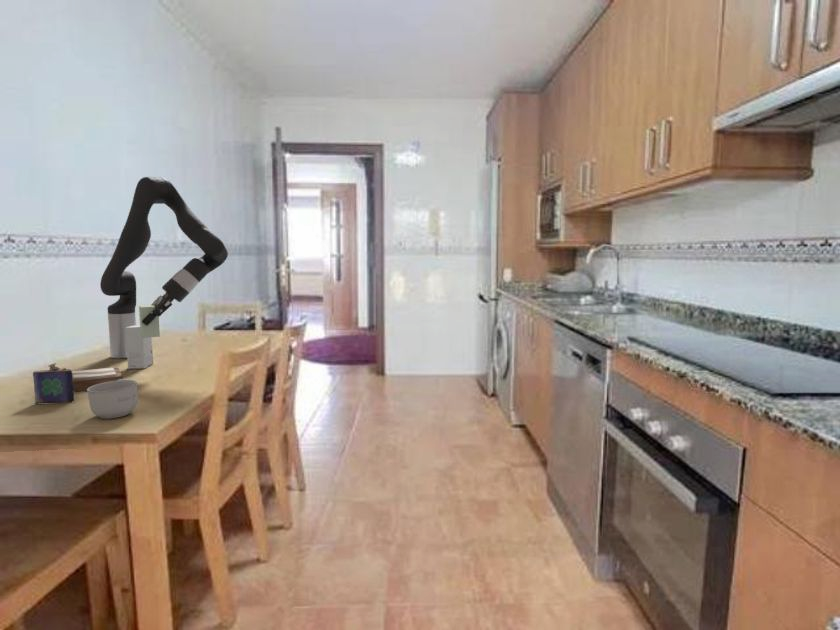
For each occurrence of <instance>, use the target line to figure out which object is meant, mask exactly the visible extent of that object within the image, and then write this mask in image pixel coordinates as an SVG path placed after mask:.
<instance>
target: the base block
mask: <svg viewBox="0 0 840 630" xmlns="http://www.w3.org/2000/svg"><path fill="white" fill-rule="evenodd" d="M71 371H72V370H71ZM119 379H124V377H123V374H122V373H121V371H120V369H119V367H113V366H111V367H102V368H94V369H93V368H91V369H84V370H73V371H72V381H73V391H75V392H81V391H82V390H83V391H87V389H88V388H89V387H91V386H93V385H96V384H100V383H103V382H109V381H116V380H119Z"/></svg>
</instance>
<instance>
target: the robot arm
mask: <svg viewBox="0 0 840 630" xmlns="http://www.w3.org/2000/svg"><path fill="white" fill-rule="evenodd" d="M156 204H159V205H162V204H164V205H165V206H167V207H169V209H170V210H172V212H173V213H174V214H175V219H176V222H177V225H178V228H180V230H181V231H182V233H183V234H185V235H186V237H187V238H188V239H189V240H190V241H191V242H192V243H194V244H195V245H197V246H198V247H199V248H200V249H201V251H202V252H203V253H204V254H203V255H202V256H200V257H199V258H196V257H193V258H192V259H190V260H189V261H187V263H186V264H185V265H184V266H183V267H182V268H181V269H179V270H178V271H177V272H176V273H174V275H173V276H172V277H170V279H169V280H167V281H166V283H164V284H163V285H162V287H161V288H162V290H163V291H164V292H165V293H164V294H163V295H161V294H160V295H158V297H157V298H156V299H155V300H154V301H153V302H152V303H151V304H150V305H154V309H153V310H152V311H151V312H150V313H151V314H150V313H149V314H148V315H147V316H146V317H145V318H144V319H143V320H142V323H144V324H145V325H149V324H150V323H151V322H152V321H153V320H154V319H155V317H156V318H157V317H159V318H160V317H161V316H162V314H164V313H165V312H166V311H167V310H168V309H169V308H171V307H172V306H173V303H172V302H173V301H174V300H175V301H176V302H178V303H180V302H181V303H182V301H183V300H185V298H186V297H187V296H188V295H189V294H190V293H191V292H192V291H193V290H194V289H195V288H196V287H197V286H198V284H199V283H200V282H202V280H203V279H204V278H205V277H206V276H207V275H208V274H210V273H211V272H213V271H214V270H216V269H217V268H219V267H220V266H221V265H223V264H224V263H225V262H226V260H227V258H228V256H229V252H228V249H227V248H226V246H225V244H224V242H223V241H222V240H221V239H220V238H219V237H218V236H217V235H216V234H215V233H214V232H212V231H211V230H210V229H209V228H208V227H207V226H206V224H204V223H203V222H202V221H201V220H200V219H199V218H198V217H197V216H196V214H194V212H193V211H192V210H191V208H190V207H189V206H188V204H187V203H186V201H185V200H184V199H183V197H182V196H181V194H180V193H179V191H178V190H177V188H176V187H175V186H174V184H173V183H172V182H171V181H170V180H168V179H167V178H165V177H161V176H160V177H158V176H144V177H142V178H140V179H139V181H138V182H137V183H136V187H135V190H134V193H133V197H132V203H131V206H130V209H129V212H128V215H127V219H126V221H125V224H124V225H123V228H122V231H121V234H120V236H119V239H118V241H117V245H116V248H115V249H114V252H113V254H112V257H111V259H110V260H109V262H108V264H107V266H106V268H105V270H104V272H103V274H102V276H101V278H100V290H101V292H102V293H103V294H104V295H105V296H111V297H114V296H115V297H116V296H119V298H118V299H117V300H116V301H115V302H114V303H112V304H109V305H108V307H107V320H108V336H109V337H108V338H109V351H110V352H109V354H110V358H111V359H127V347H126V333H125V328H126V327H129V326H134V325H137V321H136V307H137V281H136V277H135V275H134V274H133V273H132V272H131V271H128V270H127V271H126V269H127V268H128V267H129V266H130V265H131V264H132V263H134V262H135V261H136V260H138V259H139V258H140V257H141V256H142V255H143V254H144V252H146V250H147V248H148V245H149V242H150V240H151V235H152V231H151V227H150V223H149V220H148V217H149V214H150V211H151V208H153V205H156ZM157 310H158V311H159V312H158V311H157Z"/></svg>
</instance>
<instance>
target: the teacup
mask: <svg viewBox="0 0 840 630" xmlns="http://www.w3.org/2000/svg"><path fill="white" fill-rule="evenodd" d="M137 384H138V382H137V381H136V380H133V379H124V378H123V379H119V380H116V381H109V382H103V383H100V384H96V385H93V386H91V387H89V388H88V389H87V390H86V392H87V397H88V401H89V402H88V403H89V407H90V411H91V412H92V414H94V415H95V416H97V417H99V418H101V419H107V420H109V419H110V420H111V419H118V418H121V417H124V416H127V415H130V413H132V411H134V410H135V409H136V407H137V405H138V402H139V396H138V385H137Z"/></svg>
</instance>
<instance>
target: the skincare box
mask: <svg viewBox="0 0 840 630" xmlns="http://www.w3.org/2000/svg"><path fill="white" fill-rule="evenodd" d="M125 333H126V347H127V358H126V360H127V368H128V369H138V370H139V369H146V368H148V367H150V366H152V365H154V354H153V343H152V342H153V341H152V338H153V337H149V338H142V337H141V334H140V324H138V325H137V324H136V325H134V326H129V327H126V328H125Z"/></svg>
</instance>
